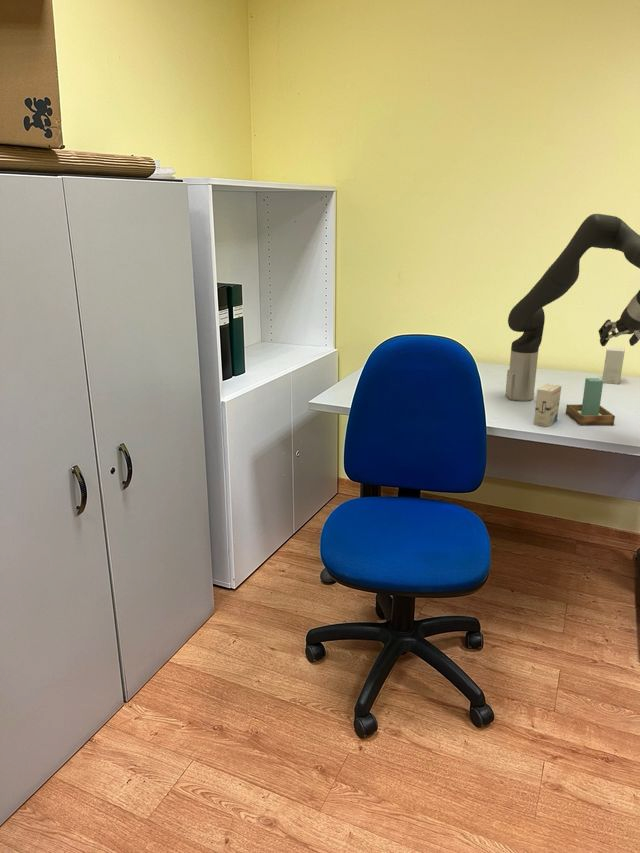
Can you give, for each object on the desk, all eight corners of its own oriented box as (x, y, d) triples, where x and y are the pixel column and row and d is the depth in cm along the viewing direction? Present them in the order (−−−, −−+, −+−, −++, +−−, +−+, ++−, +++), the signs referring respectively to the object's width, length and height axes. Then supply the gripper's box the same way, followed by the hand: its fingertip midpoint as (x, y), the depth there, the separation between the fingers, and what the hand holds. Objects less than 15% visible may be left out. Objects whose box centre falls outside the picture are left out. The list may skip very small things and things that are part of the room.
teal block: (585, 417, 205) (590, 381, 201) (581, 413, 209) (585, 378, 205) (598, 417, 205) (603, 381, 201) (593, 413, 209) (598, 377, 205)
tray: (579, 425, 201) (581, 416, 200) (565, 413, 213) (566, 404, 212) (613, 425, 201) (615, 416, 200) (597, 412, 213) (598, 404, 212)
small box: (619, 384, 247) (624, 351, 243) (602, 383, 249) (606, 350, 245) (619, 379, 254) (624, 347, 250) (602, 378, 256) (606, 345, 252)
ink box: (542, 417, 209) (546, 382, 205) (558, 420, 206) (562, 385, 202) (532, 424, 203) (536, 388, 199) (548, 427, 200) (552, 391, 196)
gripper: (663, 298, 177) (637, 332, 191) (612, 299, 176) (589, 333, 191) (671, 320, 173) (643, 353, 188) (618, 321, 173) (595, 354, 187)
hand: (616, 343), depth 189 cm, fingers open, 8 cm apart
